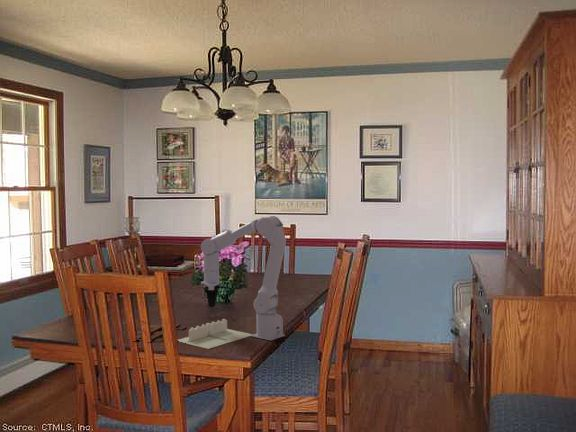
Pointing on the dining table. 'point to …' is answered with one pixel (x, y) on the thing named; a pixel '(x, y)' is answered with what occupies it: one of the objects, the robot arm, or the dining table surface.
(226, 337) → the card
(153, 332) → the decorative fence
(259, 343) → the dining table surface
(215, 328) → the folding fence panel
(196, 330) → the fence post and fixed panel
